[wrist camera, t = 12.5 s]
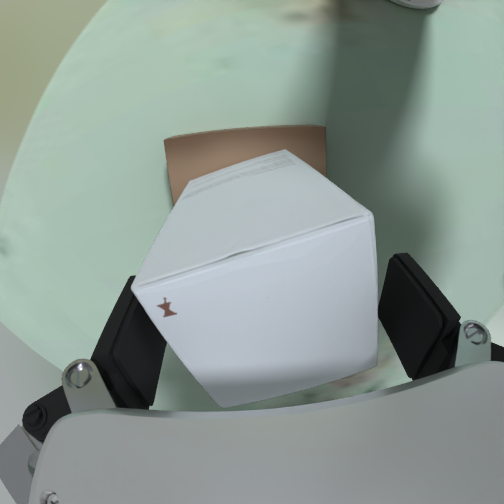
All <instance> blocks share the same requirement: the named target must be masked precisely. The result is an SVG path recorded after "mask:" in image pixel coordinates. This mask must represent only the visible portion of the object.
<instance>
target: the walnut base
mask: <svg viewBox="0 0 504 504" xmlns="http://www.w3.org/2000/svg"><path fill="white" fill-rule="evenodd" d="M164 146H165V153H166V160H167V167H168V173H169V180H170V186H171V192H172V198H173V204H174V206H175V204H176V202H177V201H178V199H179V197H180V196H181V194H182V192H183V191H184V189H185V188H186V186H187V184H188V183H189V181H191V180H194V179H196V178H199V177H201V176H204V175H207V174H209V173H212V172H215V171H218V170H220V169H223V168H226V167H229V166H232V165H235V164H238V163H241V162H244V161H247V160H250V159H253V158H256V157H259V156H262V155H266V154H269V153H273V152H277V151H280V150H284V149H286V150H288V151H289V152H291V153H292V154H294V155H295V156H297V157H298V158H300V159H301V160H302V161H304V162H305V163H307V164H308V165H310V166H311V167H312V168H314V169H315V170H316V171H318V172H319V173H320V174H322V175H323V176H324V177H326V127H323V126H317V125H280V126H260V127H246V128H234V129H224V130H215V131H206V132H199V133H191V134H185V135H178V136H173V137H170V138H167V139H165V140H164Z"/></svg>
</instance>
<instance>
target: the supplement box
mask: <svg viewBox="0 0 504 504" xmlns="http://www.w3.org/2000/svg"><path fill="white" fill-rule="evenodd" d="M131 290H132V292H133V293H134V295H135V296H136V297H137V299H138V300H139V302H140V303H141V305H142V306H143V308H144V309H145V311H146V313H147V314H148V316H149V317H150V319H151V320H152V322H153V323H154V324H155V326H156V327H157V329H158V330H159V332H160V333H161V334H162V336H163V337H164V339H165V340H166V341H167V343H168V344H169V345H170V347H171V348H172V349H173V351H174V352H175V353H176V355H177V356H178V357H179V359H180V360H181V361H182V362H183V364H184V365H185V366H186V367H187V369H188V370H189V371H190V372H191V374H192V375H193V376H194V377H195V379H196V380H197V381H198V382H199V383H200V385H201V386H202V387H203V388H204V389H205V390H206V392H207V393H208V394H209V395H210V396H211V398H212V399H213V400H214V401H215V402H216V403H217V404H218V405H219V406H220V407H222V408H226V407H232V406H237V405H242V404H247V403H252V402H257V401H261V400H266V399H270V398H275V397H279V396H283V395H287V394H291V393H294V392H298V391H302V390H306V389H309V388H313V387H316V386H319V385H323V384H326V383H329V382H332V381H335V380H338V379H341V378H344V377H347V376H350V375H353V374H356V373H359V372H362V371H365V370H367V369H370V368H373V367H376V366H377V356H378V276H377V253H376V239H375V225H374V216H373V214H372V212H370V211H369V210H368V209H366V208H365V207H364V206H362V205H361V204H360V203H358V202H357V201H355V200H354V199H353V198H352V197H350V196H349V195H348V194H346V193H345V192H344V191H343V190H341V189H340V188H339V187H337V186H336V185H335V184H334V183H332V182H331V181H330V180H328V179H327V178H326V177H324V176H323V175H322V174H320V173H319V172H318V171H316V170H315V169H314V168H312V167H311V166H310V165H308V164H307V163H305V162H304V161H302V160H301V159H300V158H298V157H297V156H295V155H294V154H292V153H291V152H289V151H288V150H286V149H284V150H280V151H277V152H273V153H269V154H266V155H262V156H259V157H256V158H253V159H250V160H247V161H244V162H241V163H238V164H235V165H232V166H229V167H226V168H223V169H220V170H218V171H215V172H212V173H209V174H207V175H204V176H201V177H199V178H196V179H194V180H191V181H189V183H188V184H187V186H186V188H185V189H184V191H183V192H182V194H181V196H180V197H179V199H178V201H177V202H176V204H175V206H174V207H173V209H172V211H171V212H170V214H169V216H168V218H167V219H166V221H165V223H164V225H163V226H162V228H161V230H160V232H159V234H158V235H157V237H156V239H155V241H154V243H153V245H152V246H151V248H150V250H149V252H148V254H147V256H146V258H145V259H144V261H143V263H142V265H141V267H140V269H139V271H138V273H137V275H136V277H135V279H134V281H133V283H132V285H131Z"/></svg>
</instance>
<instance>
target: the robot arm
mask: <svg viewBox="0 0 504 504" xmlns="http://www.w3.org/2000/svg"><path fill="white" fill-rule="evenodd" d="M390 1H392V2H394V3H397V4H400V5H403V6H405V7H410V8H414V9H427V8H431V7H434V6H436V5H439V4H440V3H441V2H442V1H443V0H390ZM135 277H136V275H135V276H130V277H129V279H128V281H127V283H126V285H125V287H124V289H123V291H122V293H121V294H120V296H119V298H118V300H117V302H116V304H115V306H114V309H113V311H112V313H111V315H110V317H109V319H108V321H107V323H106V325H105V327H104V329H103V332H102V334H101V336H100V338H99V340H98V343H97V345H96V347H95V350H94V352H93V354H92V357H91V359H90V360H88V359H78V360H76V361H73V362H72V363H70V364H69V365H68V366H67V367H66V368H65V370H64V372H63V374H62V386H60V387H59V388H57V389H55V390H54V391H52V392H50V393H49V394H47V395H45V396H44V397H42V398H40V399H39V400H37V401H35V402H34V403H32V404H31V405H29V406H28V407H27V409H26V410H25V412H24V414H23V419H22V422H23V426H22V427H21V426H20V425H18V426H17V427H16V428H15V429H14V430H13V431H12V432H11V433H10V435H9V436H8V437H7V438H6V439H5V440H4V441H3V442H2V444H1V445H0V478H1V480H2V482H3V483H4V485H5V486H6V488H7V490H8V491H9V493H10V494H11V496H12V497H13V499H14V500H15V502H16V503H17V504H504V347H502V346H499V345H497V344H495V343H492V342H491V336H490V333H489V331H488V329H487V328H486V327H485V326H484V325H483V324H481V323H480V322H478V321H474V320H467V321H465V322H463V323H462V324H460V322H459V320H460V318H461V317H460V315H459V314H458V313H457V311H456V310H455V309H454V307H453V306H452V305H451V303H450V302H449V301H448V300H447V298H446V297H445V296H444V295H443V293H442V292H441V291H440V290H439V288H438V287H437V286H436V285H435V284H434V282H433V281H432V280H431V279H430V278H429V276H428V275H427V274H426V273H425V272H424V271H423V269H422V268H421V267H420V266H419V265H418V264H417V263H416V261H415V260H414V259H413V258H412V257H411V256H410V255H409V254H408V253H399V254H394V255H393V257H392V258H390V260H389V263H388V268H387V273H386V277H385V281H384V286H383V290H382V294H381V298H380V302H379V305H378V317H379V319H380V321H381V323H382V325H383V327H384V329H385V331H386V333H387V335H388V336H389V338H390V340H391V342H392V344H393V346H394V348H395V350H396V352H397V355H398V357H399V359H400V361H401V363H402V365H403V367H404V369H405V371H406V373H407V375H408V377H409V378H412V380H413V381H411V382H408V383H404V384H401V385H397V386H394V387H390V388H386V389H382V390H378V391H374V392H370V393H366V394H361V395H357V396H352V397H347V398H342V399H337V400H332V401H326V402H320V403H313V404H306V405H299V406H291V407H282V408H272V409H261V410H246V411H221V412H190V411H160V410H149V406H152V405H153V403H154V399H155V394H156V389H157V384H158V379H159V375H160V370H161V366H162V361H163V357H164V352H165V348H166V344H167V341H166V340H165V339H164V337H163V336H162V334H161V333H160V332H159V330H158V329H157V327H156V326H155V324H154V323H153V322H152V320H151V319H150V317H149V316H148V314H147V313H146V311H145V309H144V308H143V306H142V305H141V303H140V302H139V300H138V299H137V297H136V296H135V295H134V293H133V292H132V290H131V285H132V283H133V281H134V279H135Z"/></svg>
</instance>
